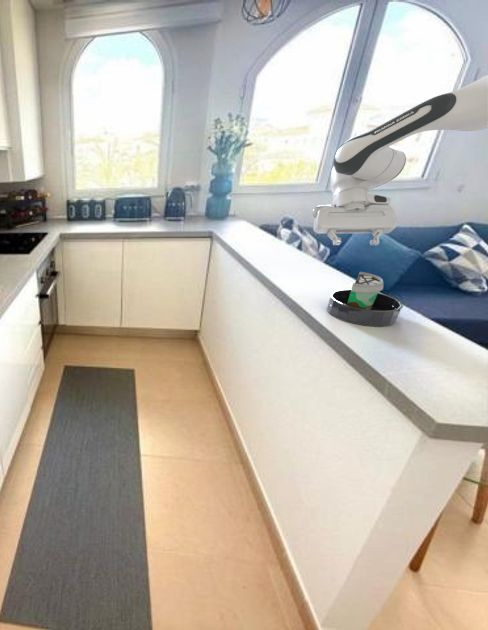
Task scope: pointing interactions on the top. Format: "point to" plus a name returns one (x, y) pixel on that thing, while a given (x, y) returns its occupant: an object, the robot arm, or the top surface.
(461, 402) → the top surface
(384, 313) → the pan
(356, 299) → the food container
